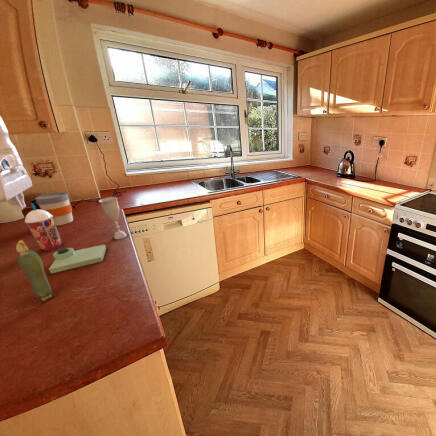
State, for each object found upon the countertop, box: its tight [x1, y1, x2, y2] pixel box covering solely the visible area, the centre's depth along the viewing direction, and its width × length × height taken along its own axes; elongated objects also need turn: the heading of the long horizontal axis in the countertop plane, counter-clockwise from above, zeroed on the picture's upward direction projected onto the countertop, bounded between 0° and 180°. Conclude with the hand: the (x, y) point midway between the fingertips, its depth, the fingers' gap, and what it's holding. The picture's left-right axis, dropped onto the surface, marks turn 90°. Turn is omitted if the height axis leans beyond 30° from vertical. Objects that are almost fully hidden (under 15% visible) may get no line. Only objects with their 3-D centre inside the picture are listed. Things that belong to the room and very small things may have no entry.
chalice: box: [98, 196, 127, 240], centre depth 109 cm, size 7×7×18 cm
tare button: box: [56, 246, 69, 254], centre depth 93 cm, size 3×3×2 cm
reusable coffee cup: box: [35, 191, 74, 227], centre depth 129 cm, size 13×12×15 cm
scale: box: [48, 243, 107, 274], centre depth 93 cm, size 15×12×4 cm
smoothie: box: [24, 202, 63, 252], centre depth 101 cm, size 8×8×20 cm
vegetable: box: [15, 239, 53, 302], centre depth 70 cm, size 4×4×20 cm
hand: (20, 209), depth 71 cm, fingers closed
